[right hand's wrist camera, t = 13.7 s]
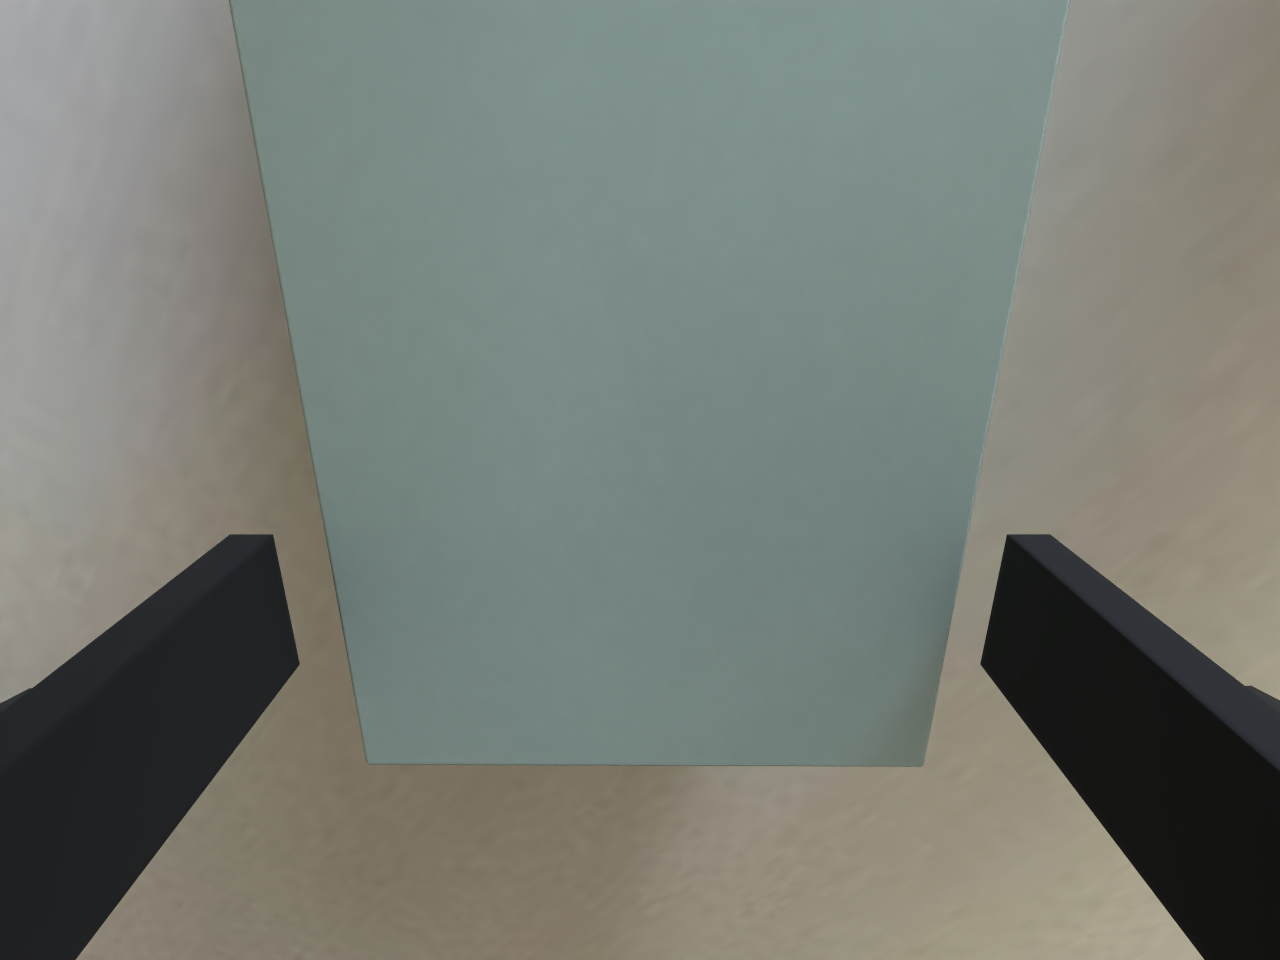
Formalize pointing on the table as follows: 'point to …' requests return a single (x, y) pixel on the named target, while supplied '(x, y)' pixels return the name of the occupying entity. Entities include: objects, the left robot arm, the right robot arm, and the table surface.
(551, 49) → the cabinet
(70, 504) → the table surface
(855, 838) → the table surface
